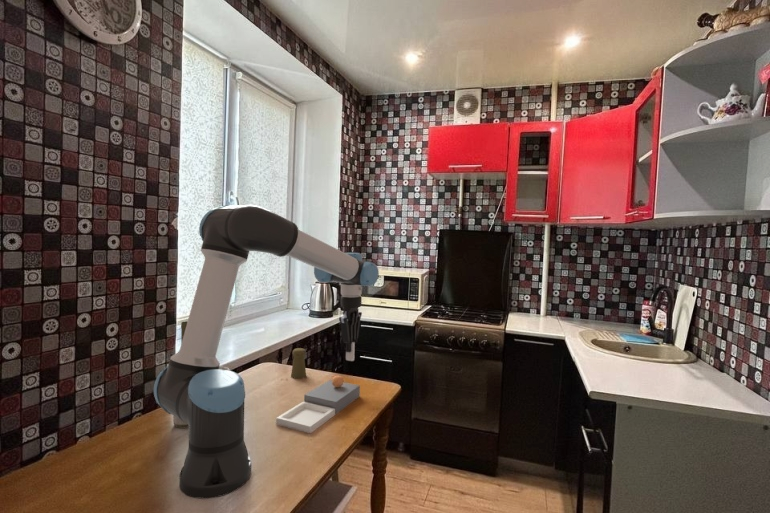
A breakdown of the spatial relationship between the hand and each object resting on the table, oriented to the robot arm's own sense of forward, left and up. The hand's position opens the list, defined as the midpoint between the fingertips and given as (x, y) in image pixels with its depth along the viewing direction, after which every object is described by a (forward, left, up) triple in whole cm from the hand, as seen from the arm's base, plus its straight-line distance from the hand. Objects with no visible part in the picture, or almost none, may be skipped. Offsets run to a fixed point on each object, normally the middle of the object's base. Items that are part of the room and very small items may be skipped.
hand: (350, 360), depth 146 cm
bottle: (-45, +29, -12) cm, 55 cm away
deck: (-11, 0, -11) cm, 16 cm away
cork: (+4, +25, -12) cm, 28 cm away
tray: (-27, 0, -11) cm, 29 cm away
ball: (-8, 0, -5) cm, 10 cm away
